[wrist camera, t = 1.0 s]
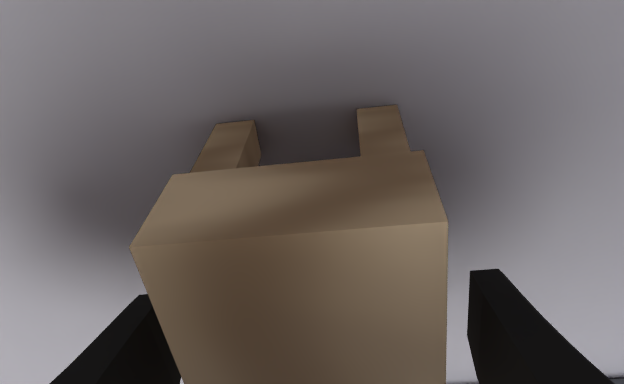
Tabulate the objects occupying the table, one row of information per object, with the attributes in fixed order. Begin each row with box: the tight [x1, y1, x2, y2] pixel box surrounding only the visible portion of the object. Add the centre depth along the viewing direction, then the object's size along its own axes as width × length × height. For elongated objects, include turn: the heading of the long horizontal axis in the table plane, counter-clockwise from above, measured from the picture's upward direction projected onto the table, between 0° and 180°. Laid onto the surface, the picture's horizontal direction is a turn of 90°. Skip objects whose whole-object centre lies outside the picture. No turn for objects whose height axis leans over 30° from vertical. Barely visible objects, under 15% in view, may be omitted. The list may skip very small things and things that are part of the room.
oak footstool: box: [129, 105, 448, 384], centre depth 12 cm, size 5×8×5 cm, turn 8°
